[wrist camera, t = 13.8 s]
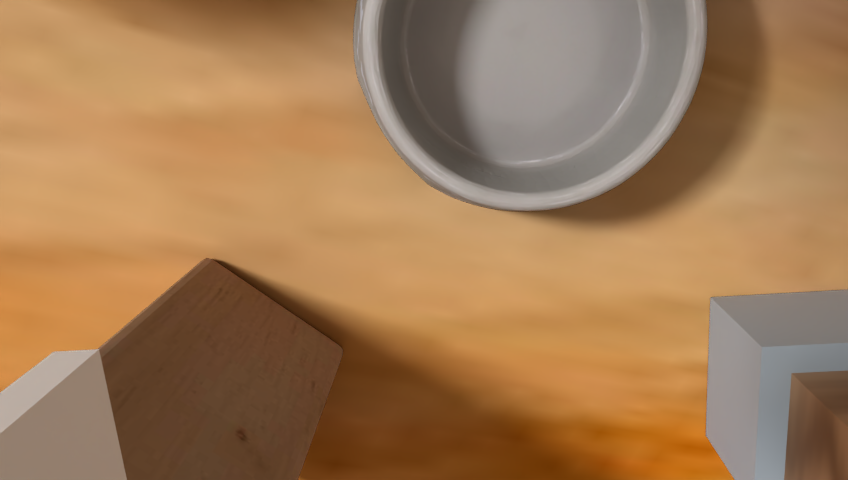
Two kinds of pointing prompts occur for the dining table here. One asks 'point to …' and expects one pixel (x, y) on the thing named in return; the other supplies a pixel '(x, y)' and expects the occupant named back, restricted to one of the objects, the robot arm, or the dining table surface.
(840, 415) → the walnut block
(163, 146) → the dining table surface
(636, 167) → the dog bowl
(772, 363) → the slate block
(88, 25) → the dining table surface
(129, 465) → the wooden block
